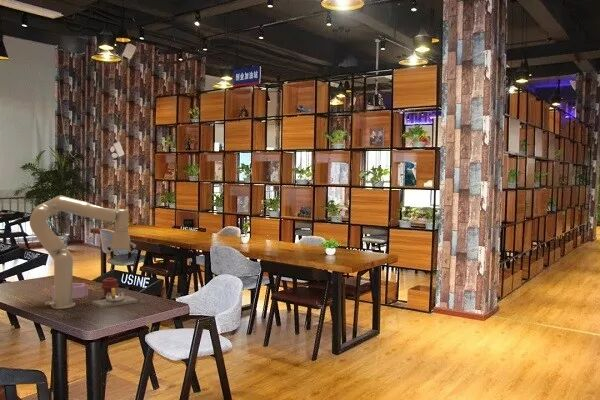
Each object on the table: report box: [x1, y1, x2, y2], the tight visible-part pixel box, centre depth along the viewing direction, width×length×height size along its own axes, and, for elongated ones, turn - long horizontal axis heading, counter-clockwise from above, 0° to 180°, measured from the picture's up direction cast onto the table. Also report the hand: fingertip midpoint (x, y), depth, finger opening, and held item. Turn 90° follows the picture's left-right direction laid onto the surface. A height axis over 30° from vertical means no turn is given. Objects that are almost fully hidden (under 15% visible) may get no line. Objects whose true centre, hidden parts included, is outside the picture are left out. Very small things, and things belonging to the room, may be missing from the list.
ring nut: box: [105, 288, 125, 302], centre depth 313 cm, size 11×14×9 cm
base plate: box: [91, 295, 138, 309], centre depth 315 cm, size 22×13×2 cm, turn 133°
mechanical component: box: [100, 277, 120, 298], centre depth 327 cm, size 12×10×10 cm
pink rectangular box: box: [51, 282, 89, 300], centre depth 329 cm, size 20×12×7 cm, turn 128°
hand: (120, 258), depth 317 cm, fingers open, 9 cm apart
